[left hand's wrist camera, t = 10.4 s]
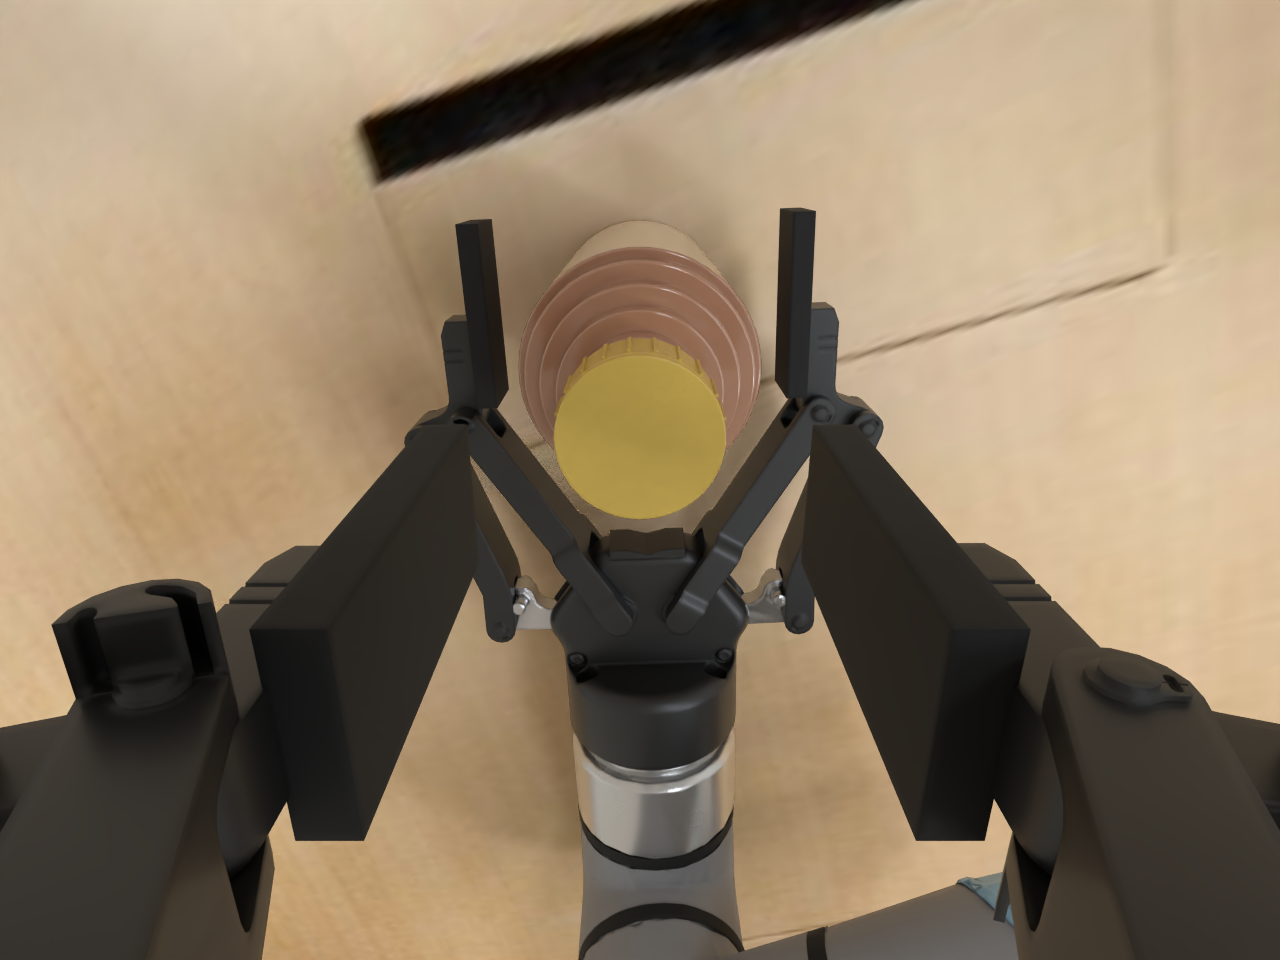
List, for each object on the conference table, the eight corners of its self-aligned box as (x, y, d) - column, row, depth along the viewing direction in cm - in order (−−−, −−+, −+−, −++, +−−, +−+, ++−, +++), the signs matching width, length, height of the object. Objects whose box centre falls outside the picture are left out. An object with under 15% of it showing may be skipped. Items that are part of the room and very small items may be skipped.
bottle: (752, 294, 34) (866, 416, 17) (649, 411, 36) (657, 627, 19) (629, 183, 33) (617, 196, 15) (528, 313, 35) (417, 453, 17)
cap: (754, 406, 18) (766, 430, 17) (649, 519, 20) (650, 553, 18) (629, 300, 18) (628, 315, 16) (527, 425, 19) (515, 451, 17)
